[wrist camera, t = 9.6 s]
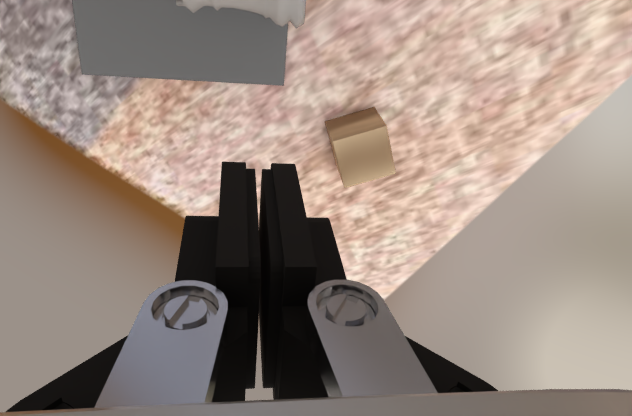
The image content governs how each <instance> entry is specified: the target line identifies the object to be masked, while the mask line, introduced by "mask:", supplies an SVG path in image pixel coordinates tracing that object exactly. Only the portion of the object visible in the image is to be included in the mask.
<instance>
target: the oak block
mask: <svg viewBox="0 0 632 416" xmlns="http://www.w3.org/2000/svg"><path fill="white" fill-rule="evenodd" d="M325 124H326V128H327V131H328V135H329V139H330V143H331V147H332V150H333V154H334V158H335V162H336V166H337V168H338V171H339V174H340V176H341V179H342V182H343V185H344V187H345V188H347V187H351V186H354V185H358V184H361V183H365V182H368V181H371V180H375V179H378V178H382V177H385V176H389V175H392V174H396V172H395V167H394V162H393V157H392V151H391V146H390V141H389V136H388V131H387V126H386V124H385V123H384V121H383V120H382V118H381V117H380V115H379V114H378V112H377V110H376V109H375V107H373V108H369V109H366V110H362V111H359V112H355V113H352V114H349V115H345V116H342V117H338V118H335V119H331V120H328V121H325Z"/></svg>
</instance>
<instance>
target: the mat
mask: <svg viewBox="0 0 632 416" xmlns="http://www.w3.org/2000/svg"><path fill="white" fill-rule="evenodd" d="M72 4H73V11H74V19H75V26H76V34H77V41H78V49H79V56H80V64H81V71H82V74H85V75H103V76H121V77H139V78H157V79H175V80H193V81H211V82H228V83H246V84H264V85H282V86H284V74H285V59H286V44H287V29H288V23H287V24H285V25H284V26H283V27H282V26H279V25H276V23H275V22H274V21H273V20H272V19H271V18H270V17H269V18H266V19H265V17H264V16H263V15H260V14H258V13H255V12H251V11H246V10H240V9H235V8H220V9H219V10H218V11H217V10H216V9H215V8H214V7H211V6H203V7H202V8H200V9H199V10H197V11H196V12H194V13H193V12H191V11H190V10H189V9H188V8H187V7H185V6H177V5H176V0H72Z"/></svg>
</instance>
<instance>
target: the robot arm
mask: <svg viewBox="0 0 632 416" xmlns="http://www.w3.org/2000/svg"><path fill="white" fill-rule="evenodd" d="M258 316H259V317H258ZM258 319H259V320H260V340H261V360H262V381H263V388H273V398H274V400H256V401H245V389H249V388H251V389H252V388H255V373H256V355H257V337H258ZM0 416H632V390H620V389H546V390H518V391H517V390H516V391H498V390H497V389H495V388H494V387H493V386H491V385H490V384H488V383H487V382H485V381H484V380H482V379H480V378H478V377H476V376H475V375H473V374H471V373H469V372H467V371H466V370H464V369H462V368H460V367H459V366H457V365H455V364H454V363H452V362H450V361H448V360H446V359H445V358H443V357H441V356H439V355H438V354H435V353H434V352H432V351H430V350H429V349H427V348H425V347H423V346H422V345H420V344H418V343H416V342H415V341H413V340H411V339H409V338H408V337H406V336H404V334H403V332H402V331H401V329H400V327H399V325H398V324H397V322H396V320H395V319H394V317H393V315H392V313H391V312H390V310H389V308H388V307H387V305H386V303H385V301H384V300H383V299H382V297H381V296H380V295H379V294H378V293H377V292H376V291H375V290H373V289H372V288H370V287H369V286H367V285H364V284H362V283H359V282H356V281H351V280H347V279H346V276H345V272H344V269H343V265H342V262H341V258H340V255H339V251H338V248H337V244H336V241H335V237H334V234H333V230H332V227H331V223H330V220H329V219H328V218H307V217H306V213H305V208H304V203H303V199H302V194H301V189H300V185H299V180H298V175H297V171H296V166H295V164H277V163H272V164H271V169H262V179H261V199H260V220H259V225H258V209H257V193H256V177H255V169H246V163H245V162H222V171H221V187H220V203H219V216H186V218H185V223H184V229H183V235H182V241H181V247H180V253H179V259H178V265H177V271H176V278H175V282H172V283H169V284H166V285H164V286H162V287H159V288H158V289H156V290H155V291H153V292H152V293H151V294H150V295H149V296H148V297H147V299H146V300H145V301H144V303H143V305H142V307H141V309H140V311H139V313H138V315H137V318H136V320H135V322H134V324H133V326H132V328H131V330H130V332H129V335H128V336H126V337H124V338H123V339H121V340H120V341H118V342H116V343H115V344H113V345H111V346H110V347H108V348H106V349H105V350H103V351H101V352H100V353H98V354H97V355H95V356H93V357H92V358H90V359H88V360H86V361H85V362H83V363H82V364H80V365H78V366H77V367H75V368H73V369H72V370H70V371H68V372H67V373H65V374H63V375H62V376H60V377H58V378H57V379H55V380H53V381H52V382H50V383H48V384H47V385H45V386H44V387H42V388H40V389H39V390H37V391H35V392H34V393H32V394H31V395H29V396H27V397H25V398H24V399H22V400H20V401H19V402H18V403H16V404H15V405H14V406H12V407H11V408H10V409H9V410H7V411H6V412H0Z"/></svg>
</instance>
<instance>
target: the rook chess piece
mask: <svg viewBox="0 0 632 416" xmlns="http://www.w3.org/2000/svg"><path fill="white" fill-rule="evenodd" d="M176 5H177V6H185V7H187V8H188V9H189V10H190V11H191V12H193V13H194V12H196V11H197V10H199V9H200V8H202V7H203V6H211V7H214V8H215V9H216V10H217V11H218V10H219V9H220V8H235V9H240V10H246V11H251V12H255V13H258V14H260V15H263V16H264V17H265V19H266V18H269V17H270V18H271V19H272V20H273V21H274V22H275V23H276V25H279V26H282V27H283V26H284V25H285V24H287V23H288V22H289V21H291V23H292V24H293V25H294V26H295V28H298V27H299V26H301V25H302V24H304V19H305V6H306V0H176Z"/></svg>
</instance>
